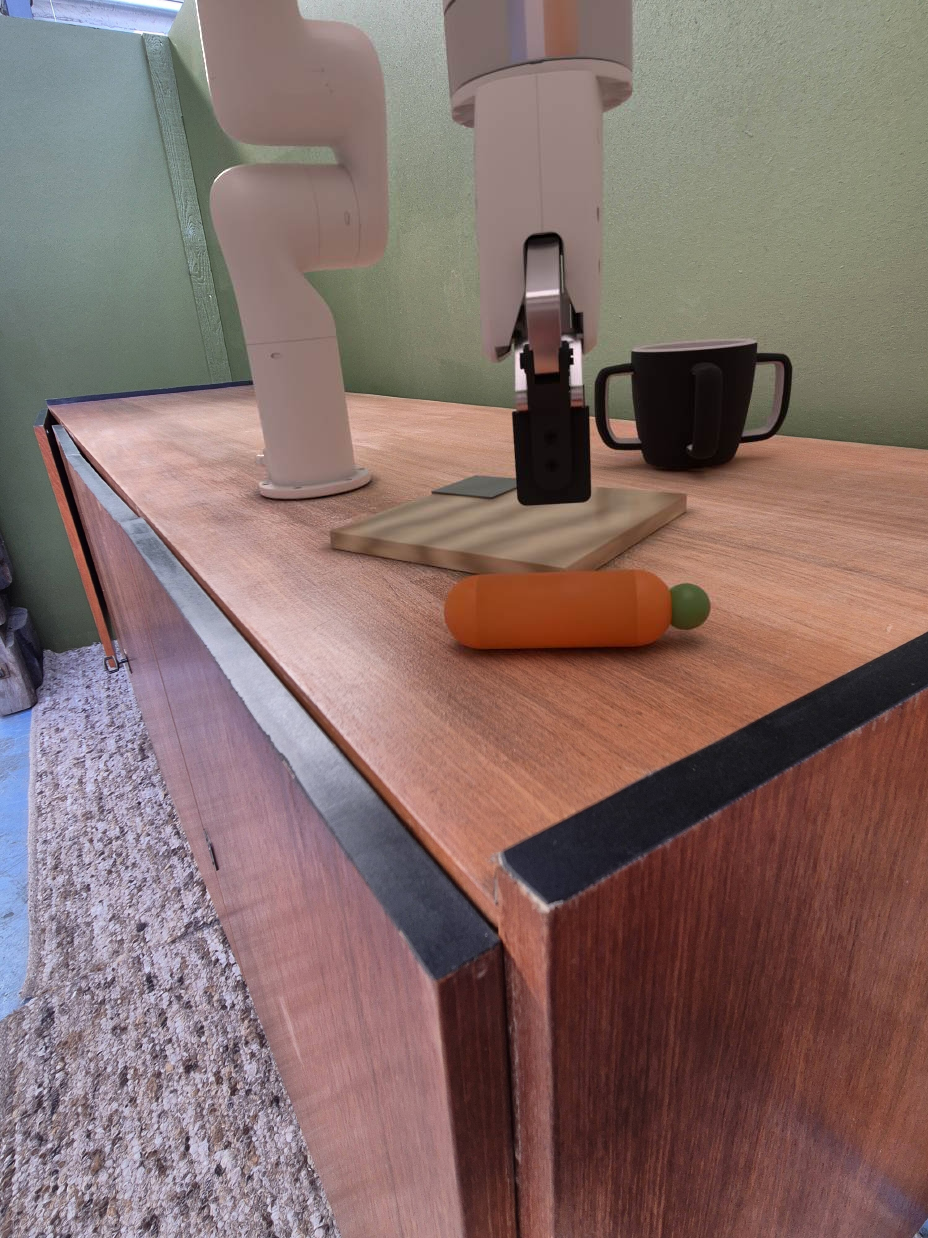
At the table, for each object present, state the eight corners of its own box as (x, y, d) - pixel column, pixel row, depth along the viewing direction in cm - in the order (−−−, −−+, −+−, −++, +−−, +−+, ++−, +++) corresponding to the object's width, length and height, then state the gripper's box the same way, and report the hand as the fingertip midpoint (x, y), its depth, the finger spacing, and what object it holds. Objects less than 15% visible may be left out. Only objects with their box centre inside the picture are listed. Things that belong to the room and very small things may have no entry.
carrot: (448, 662, 39) (434, 627, 36) (452, 600, 41) (440, 561, 38) (708, 658, 37) (721, 620, 34) (700, 593, 39) (711, 551, 36)
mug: (682, 443, 87) (686, 337, 82) (803, 458, 74) (816, 334, 69) (580, 467, 79) (578, 352, 74) (694, 488, 66) (700, 351, 62)
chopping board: (331, 548, 58) (328, 528, 58) (476, 491, 73) (475, 475, 72) (565, 590, 45) (564, 564, 45) (686, 511, 60) (687, 491, 59)
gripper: (474, 128, 38) (497, 453, 44) (406, -6, 22) (458, 531, 28) (618, 107, 37) (620, 445, 43) (656, -50, 21) (651, 520, 27)
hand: (556, 479), depth 36 cm, fingers open, 9 cm apart
